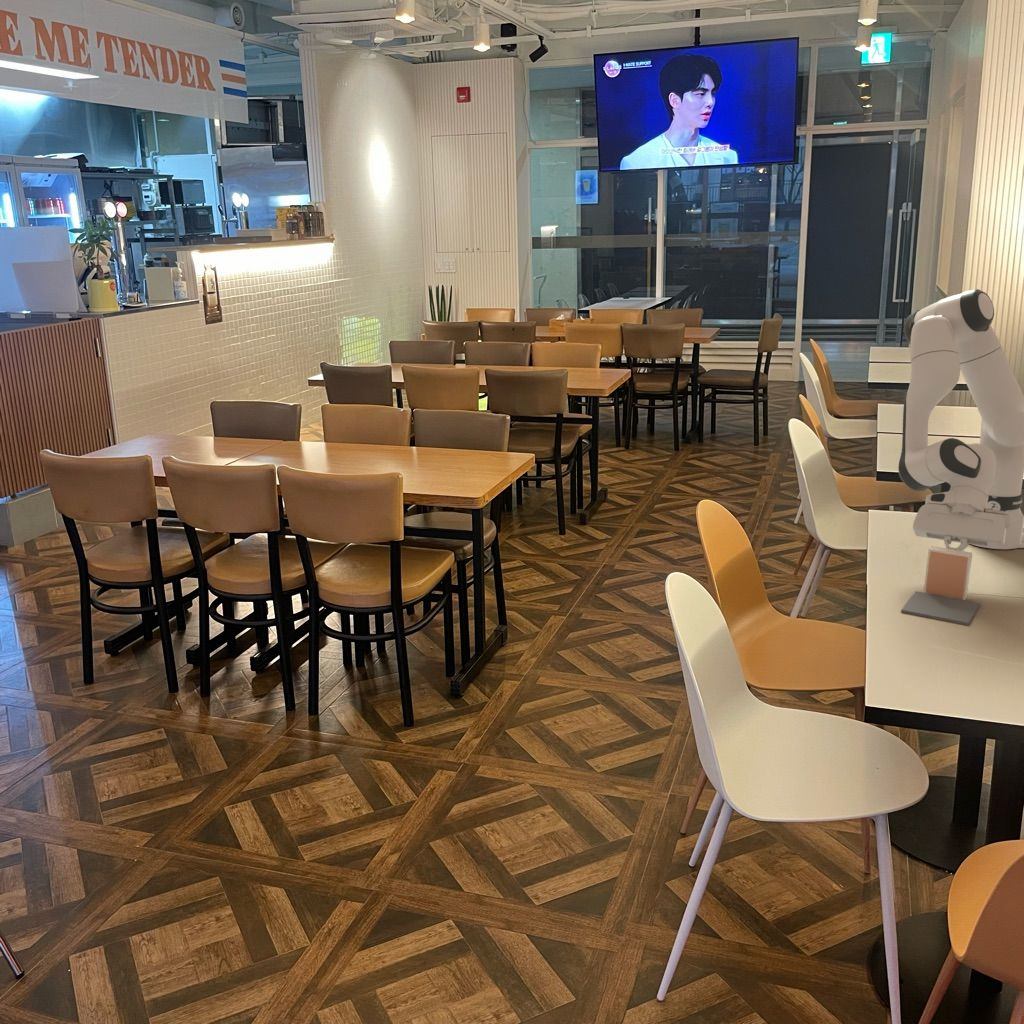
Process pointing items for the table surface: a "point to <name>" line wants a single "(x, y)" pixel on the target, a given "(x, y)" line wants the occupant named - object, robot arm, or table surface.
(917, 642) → the table surface
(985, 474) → the robot arm
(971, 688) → the table surface
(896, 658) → the table surface
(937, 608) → the charcoal mat
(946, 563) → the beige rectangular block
